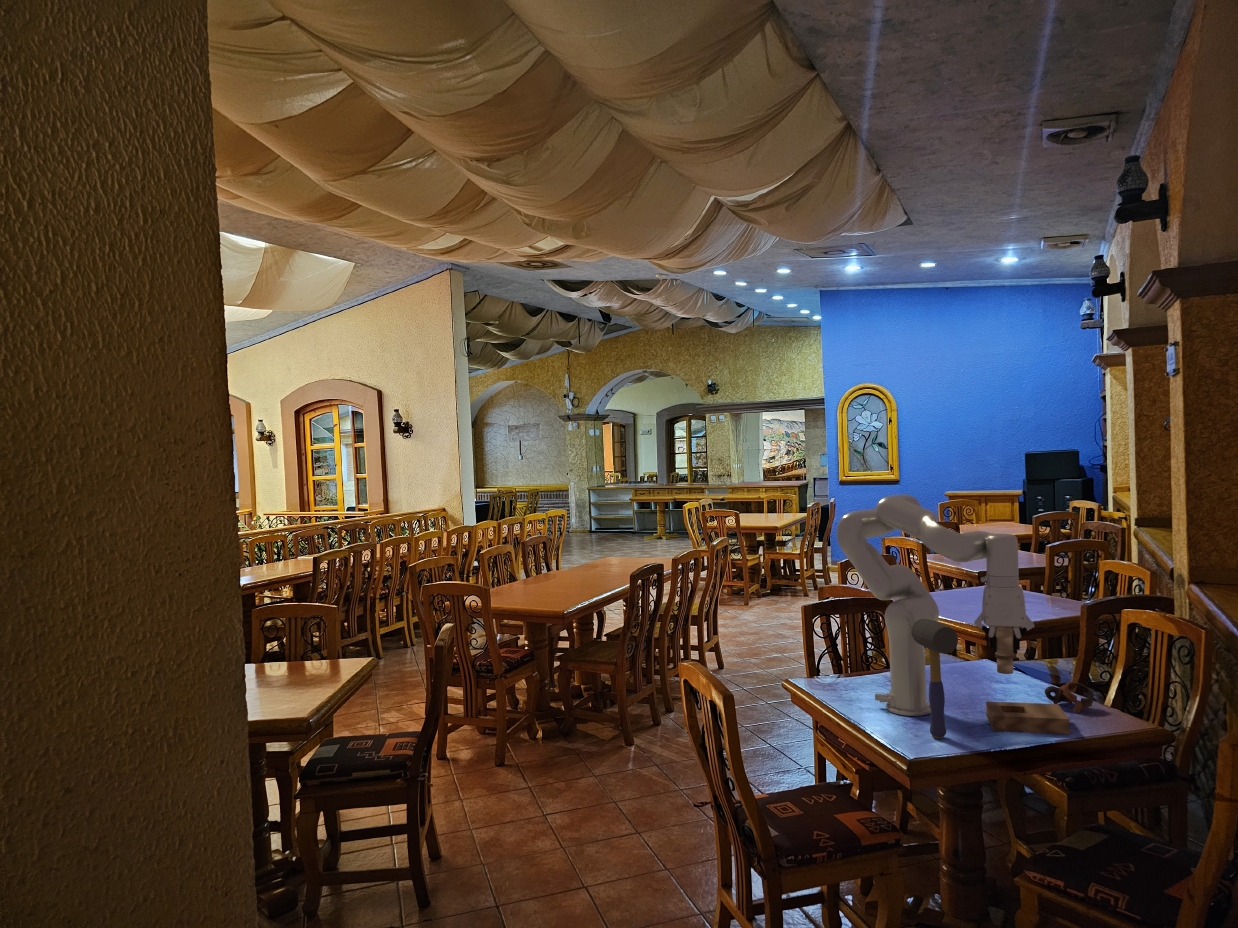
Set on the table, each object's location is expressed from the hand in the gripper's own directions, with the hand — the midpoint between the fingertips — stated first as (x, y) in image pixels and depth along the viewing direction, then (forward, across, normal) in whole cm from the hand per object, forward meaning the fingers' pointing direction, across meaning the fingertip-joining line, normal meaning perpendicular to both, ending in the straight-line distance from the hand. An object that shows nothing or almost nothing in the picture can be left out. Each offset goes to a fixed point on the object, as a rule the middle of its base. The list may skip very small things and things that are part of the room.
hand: (1004, 651), depth 216 cm
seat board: (+21, +6, +7) cm, 23 cm away
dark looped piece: (+21, +18, +25) cm, 38 cm away
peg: (+5, 0, 0) cm, 5 cm away
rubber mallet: (+21, -17, -8) cm, 28 cm away
